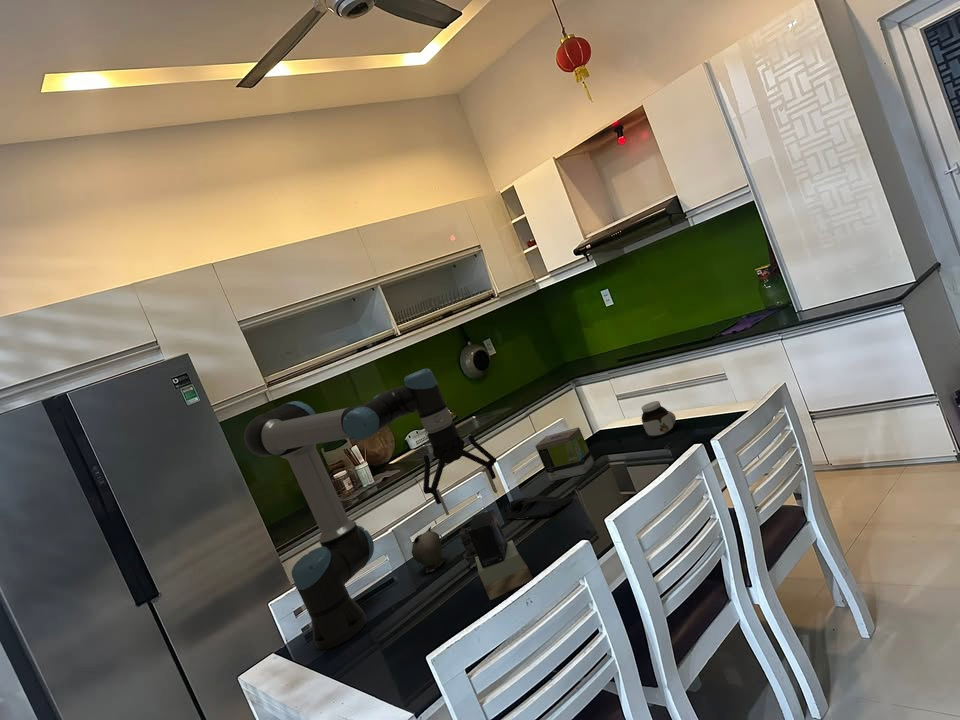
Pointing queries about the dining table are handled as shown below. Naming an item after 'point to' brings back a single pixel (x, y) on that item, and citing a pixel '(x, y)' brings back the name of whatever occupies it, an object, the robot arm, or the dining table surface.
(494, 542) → the small box
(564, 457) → the tea box
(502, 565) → the tower top
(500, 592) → the tower bottom
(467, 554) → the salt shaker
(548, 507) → the dark slate chunk
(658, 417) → the spread jar
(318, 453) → the robot arm
